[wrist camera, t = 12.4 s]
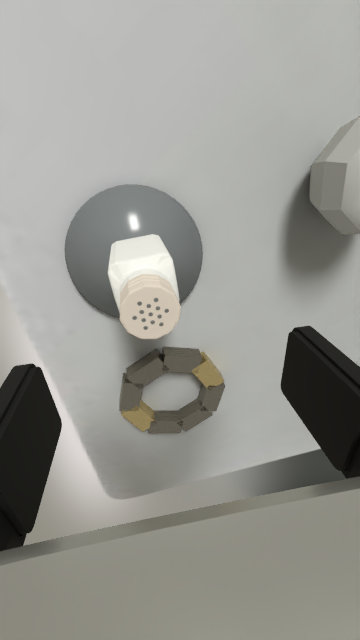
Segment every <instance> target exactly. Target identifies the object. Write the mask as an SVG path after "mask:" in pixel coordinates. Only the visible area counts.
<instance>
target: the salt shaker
mask: <svg viewBox="0 0 360 640" xmlns="http://www.w3.org/2000/svg"><path fill="white" fill-rule="evenodd" d="M108 277H109V280H110V284H111V288H112V291H113V294H114V298H115V301H116V304H117V307H118V310H119V313H120V322H121V323H122V325H123V326H124V328H125V329H126V331H127V332H128V333H130V334H132V335H134V336H136V337H138V338H140V339H158V338H160V337H162V336H164V335H166V334H168V333H170V332H171V331H172V330H173V328H174V327H175V326H176V324H177V323H178V322H179V318H180V310H181V306H180V304H179V301H180V300H179V292H178V286H177V280H176V274H175V269H174V263H173V259H172V258H171V256H170V254H169V252H168V250H167V249H166V247H165V245H164V243H163V242H162V240H161V238H160V237H159V235H154V234H151V235H146V236H141V237H136V238H131V239H125V240H120V241H116V242H115V243H113V244H112V245H111V252H110V260H109V267H108Z"/></svg>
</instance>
